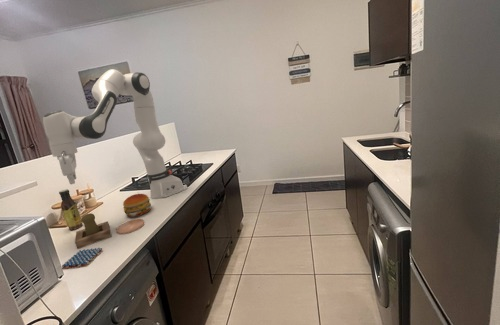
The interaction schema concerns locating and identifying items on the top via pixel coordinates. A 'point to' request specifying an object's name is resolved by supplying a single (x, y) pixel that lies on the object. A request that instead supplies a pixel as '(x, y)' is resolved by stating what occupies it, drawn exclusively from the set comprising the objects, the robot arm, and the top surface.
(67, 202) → the sauce bottle
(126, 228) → the saucer
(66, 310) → the top surface
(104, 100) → the robot arm
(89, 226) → the cork
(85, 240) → the brown wooden tray
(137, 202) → the burger
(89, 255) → the woven mat
